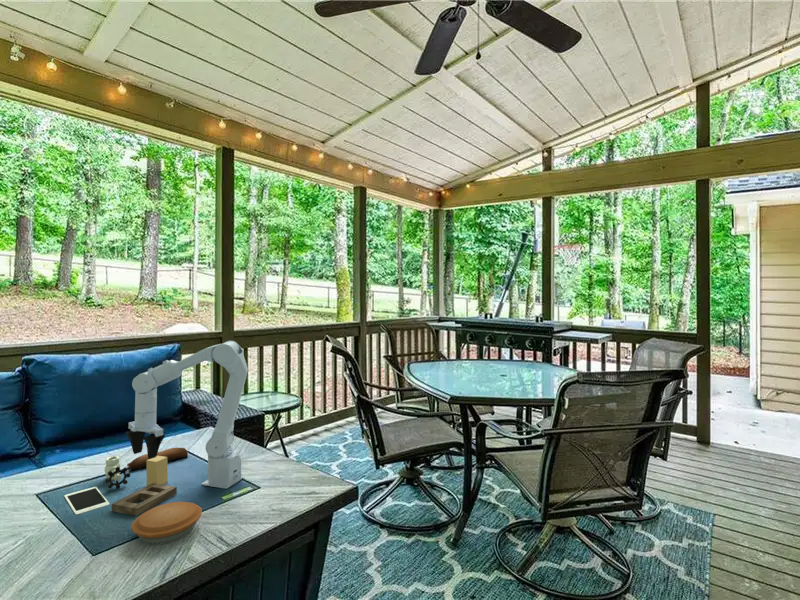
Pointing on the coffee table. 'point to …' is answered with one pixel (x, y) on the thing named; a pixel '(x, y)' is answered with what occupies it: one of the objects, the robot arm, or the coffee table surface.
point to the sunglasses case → (169, 453)
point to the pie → (166, 522)
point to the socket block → (150, 494)
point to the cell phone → (86, 500)
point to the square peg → (157, 470)
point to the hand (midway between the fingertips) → (144, 455)
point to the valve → (115, 472)
